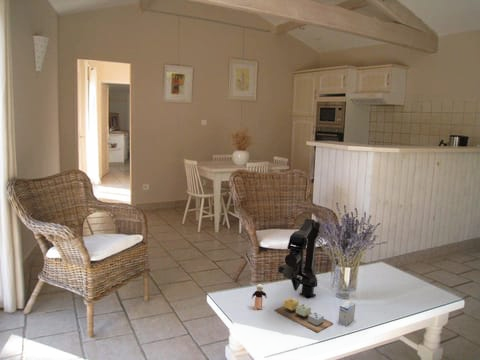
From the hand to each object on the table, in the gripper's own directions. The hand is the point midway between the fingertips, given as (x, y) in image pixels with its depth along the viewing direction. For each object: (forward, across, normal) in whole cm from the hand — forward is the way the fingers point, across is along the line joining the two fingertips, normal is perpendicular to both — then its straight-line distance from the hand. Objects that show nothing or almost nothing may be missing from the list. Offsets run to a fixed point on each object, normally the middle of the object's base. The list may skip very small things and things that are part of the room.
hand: (295, 290), depth 194 cm
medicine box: (+12, +21, +12) cm, 27 cm away
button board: (+12, +5, 0) cm, 13 cm away
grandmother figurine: (+12, -14, -10) cm, 21 cm away
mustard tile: (+9, -2, 0) cm, 10 cm away
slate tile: (+11, +13, -1) cm, 17 cm away
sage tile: (+9, +5, 0) cm, 11 cm away
